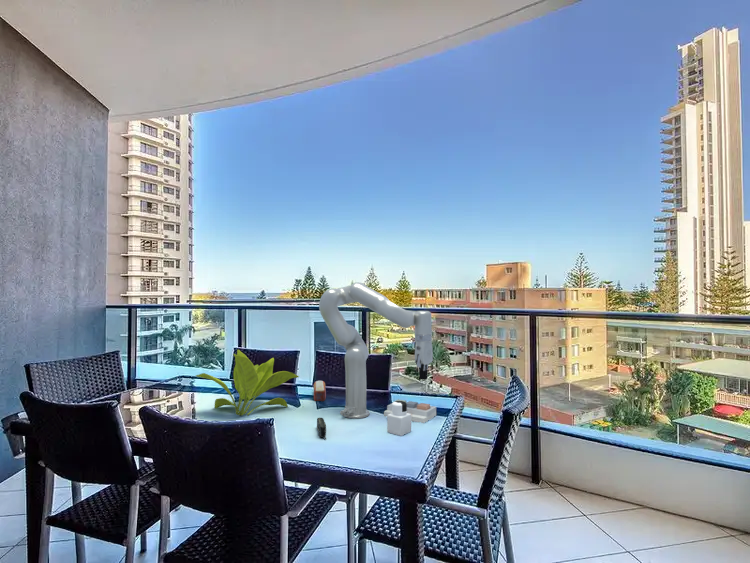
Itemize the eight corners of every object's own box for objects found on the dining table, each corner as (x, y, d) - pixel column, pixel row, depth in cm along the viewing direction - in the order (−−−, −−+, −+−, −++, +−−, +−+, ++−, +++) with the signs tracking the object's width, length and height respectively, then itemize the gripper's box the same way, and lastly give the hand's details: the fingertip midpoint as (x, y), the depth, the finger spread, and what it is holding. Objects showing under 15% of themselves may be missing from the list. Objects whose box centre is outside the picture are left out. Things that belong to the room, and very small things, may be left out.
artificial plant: (302, 427, 187) (315, 367, 205) (236, 392, 158) (258, 325, 176) (236, 431, 206) (253, 376, 224) (166, 400, 177) (192, 339, 194)
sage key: (402, 407, 186) (402, 402, 186) (393, 405, 188) (393, 401, 188) (406, 404, 190) (406, 400, 190) (398, 403, 192) (398, 399, 192)
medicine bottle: (397, 427, 168) (397, 398, 168) (411, 431, 164) (411, 401, 164) (386, 432, 163) (386, 402, 163) (401, 436, 158) (401, 405, 158)
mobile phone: (315, 416, 168) (320, 427, 154) (323, 416, 169) (328, 426, 154) (315, 429, 168) (320, 440, 153) (323, 428, 169) (328, 440, 154)
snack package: (326, 402, 209) (326, 388, 209) (313, 402, 208) (313, 389, 208) (325, 392, 230) (325, 380, 230) (313, 392, 229) (313, 380, 229)
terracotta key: (425, 411, 180) (425, 406, 180) (417, 409, 182) (416, 405, 182) (430, 408, 183) (430, 404, 183) (421, 407, 186) (421, 402, 186)
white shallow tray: (424, 423, 174) (424, 413, 174) (383, 415, 184) (383, 407, 184) (436, 415, 185) (436, 406, 185) (397, 409, 195) (397, 400, 195)
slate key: (413, 409, 183) (413, 404, 183) (405, 407, 185) (405, 403, 185) (418, 406, 187) (418, 402, 187) (409, 405, 189) (409, 401, 189)
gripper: (423, 340, 175) (423, 383, 175) (437, 337, 188) (437, 376, 188) (408, 339, 179) (408, 381, 179) (422, 336, 192) (422, 375, 191)
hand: (423, 378), depth 183 cm, fingers closed
